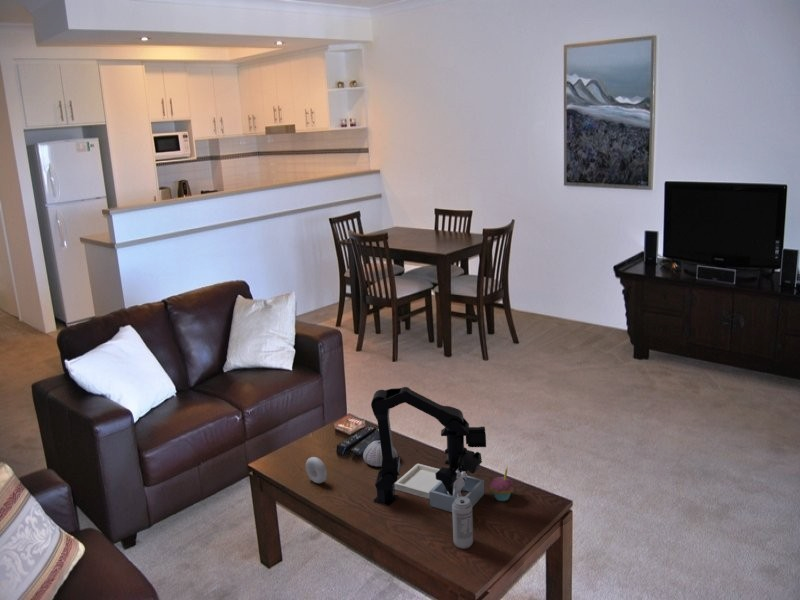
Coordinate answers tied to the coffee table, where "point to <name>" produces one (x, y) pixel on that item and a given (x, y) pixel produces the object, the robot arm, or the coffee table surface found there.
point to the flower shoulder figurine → (459, 484)
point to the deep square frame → (445, 501)
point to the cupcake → (502, 487)
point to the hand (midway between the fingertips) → (456, 487)
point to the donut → (321, 471)
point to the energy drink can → (462, 522)
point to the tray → (418, 481)
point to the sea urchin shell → (374, 454)
